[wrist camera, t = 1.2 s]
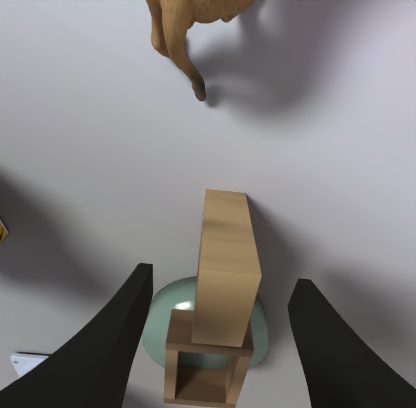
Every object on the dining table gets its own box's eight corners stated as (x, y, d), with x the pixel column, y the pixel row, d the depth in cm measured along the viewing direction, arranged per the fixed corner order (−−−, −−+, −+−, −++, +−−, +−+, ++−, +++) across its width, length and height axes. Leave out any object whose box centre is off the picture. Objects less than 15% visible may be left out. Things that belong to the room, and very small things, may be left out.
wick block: (233, 253, 19) (241, 347, 13) (199, 249, 19) (191, 342, 13) (245, 193, 16) (261, 275, 10) (206, 189, 16) (199, 269, 10)
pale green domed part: (252, 354, 25) (255, 382, 23) (150, 345, 25) (143, 373, 23) (276, 282, 20) (283, 309, 18) (148, 270, 20) (140, 296, 18)
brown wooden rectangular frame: (232, 374, 23) (234, 408, 20) (168, 369, 22) (163, 403, 20) (249, 315, 18) (254, 350, 16) (171, 308, 18) (165, 342, 16)
